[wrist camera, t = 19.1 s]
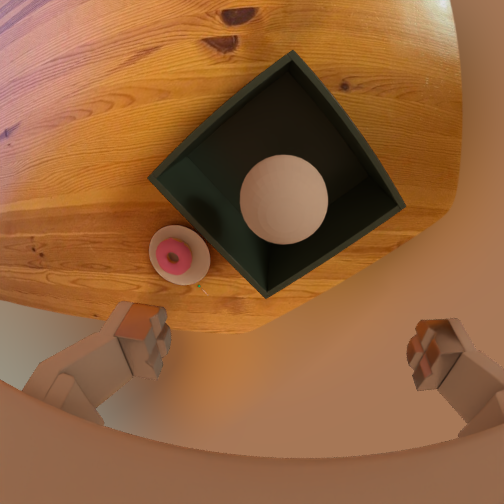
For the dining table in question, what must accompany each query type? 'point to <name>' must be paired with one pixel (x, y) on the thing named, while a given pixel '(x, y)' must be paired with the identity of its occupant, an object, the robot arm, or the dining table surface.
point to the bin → (267, 145)
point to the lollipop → (283, 199)
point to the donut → (179, 255)
